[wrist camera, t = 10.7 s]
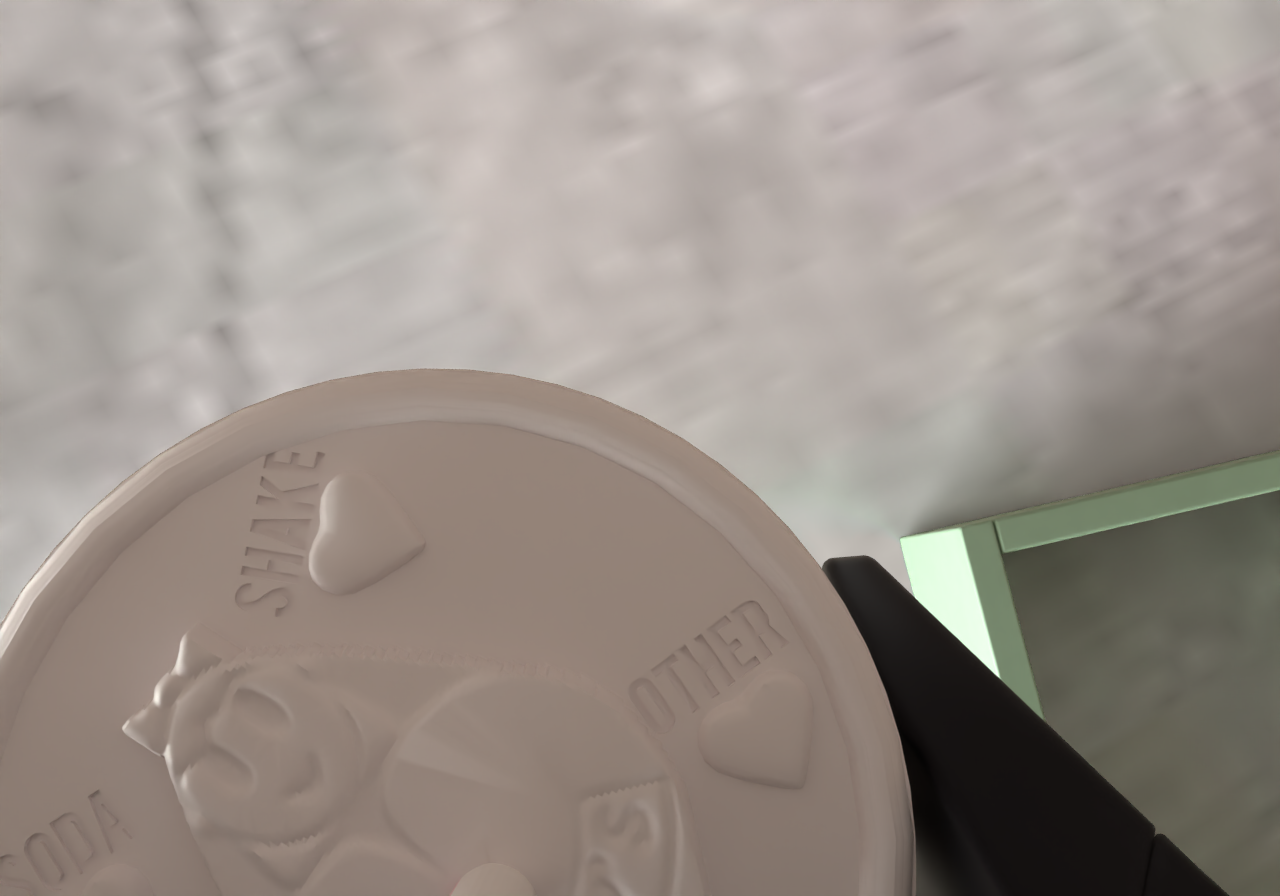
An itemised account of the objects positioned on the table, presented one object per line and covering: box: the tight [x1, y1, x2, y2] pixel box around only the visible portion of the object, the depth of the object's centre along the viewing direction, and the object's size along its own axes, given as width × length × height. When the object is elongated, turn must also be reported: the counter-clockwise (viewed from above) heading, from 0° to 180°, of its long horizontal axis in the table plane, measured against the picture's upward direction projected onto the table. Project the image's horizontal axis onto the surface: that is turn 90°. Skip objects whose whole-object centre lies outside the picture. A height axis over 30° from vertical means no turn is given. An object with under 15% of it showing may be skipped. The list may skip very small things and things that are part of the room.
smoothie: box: [0, 369, 916, 896], centre depth 10 cm, size 6×6×14 cm
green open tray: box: [900, 450, 1280, 722], centre depth 20 cm, size 11×10×4 cm
